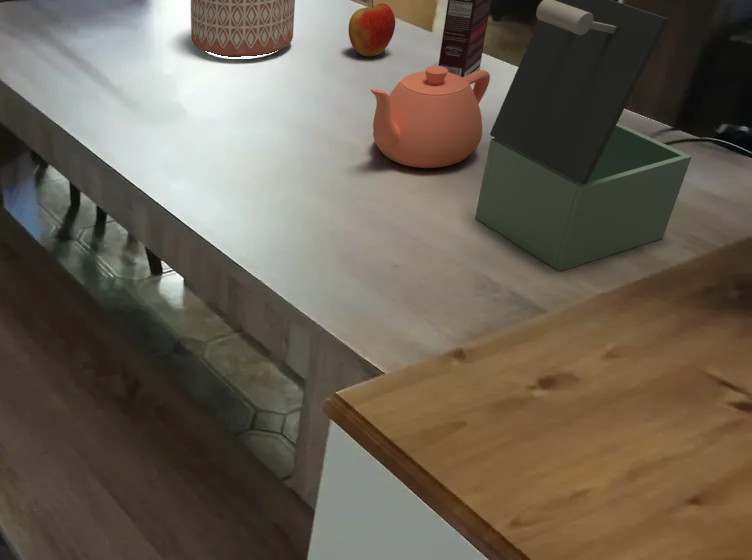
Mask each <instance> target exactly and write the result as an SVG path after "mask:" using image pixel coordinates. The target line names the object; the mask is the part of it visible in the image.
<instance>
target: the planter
mask: <svg viewBox="0 0 752 560" xmlns="http://www.w3.org/2000/svg"><path fill="white" fill-rule="evenodd" d="M295 5H296V0H190V33H191V34H190V36H191V37H190V41H191V43H192V44H193V46H195V47H196V48H198V50H202V51H203V50H204V51H207V52H211V53H214V54H217V55H221V56H228V57H241V56H257V55H263V54H269V53H272V52H275V51H277V50H279V49H280V50H281V49H283V48H285V47H287V46H288V45H290V44H291V42H293V39H294V25H295V8H296V7H295ZM280 50H279V51H280ZM204 51H203V52H204Z"/></svg>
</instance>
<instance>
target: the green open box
mask: <svg viewBox="0 0 752 560" xmlns="http://www.w3.org/2000/svg"><path fill="white" fill-rule="evenodd" d="M691 160H692V155H690V154H688V153H685V152H684V151H681V150H679V149H676V148H675V147H672V146H670V145H668V144H665V143H663V142H661V141H659V140H658V139H657V140H656V139H654V138H652V137H650V136H648V135H646V134H644V133H641V132H639V131H637V130H635V129H633V128H630V127H628V126H625V125H623V124H621V123H619V122H617V124H616V126H615V128H614V130H613V132H612V134H611V136H610V138H609V140H608V142H607V144H606V146H605V148H604V150H603V152H602V154H601V156H600V158H599V160H598V162H597V164H596V166H595V168H594V170H593V172H592V174H591V176H590V178H589V180H588V182H587V184H581V183H579V182H577V181H575V180H573V179H571V178H569V177H568V176H566V175H564V174H562V173H560V172H558V171H556V170H554V169H553V168H551V167H549V166H547V165H545V164H543V163H541V162H539V161H537V160H536V159H534V158H532V157H530V156H528V155H526V154H524V153H522V152H521V151H519V150H517V149H515V148H513V147H511V146H509V145H507V144H505V143H504V142H502V141H500V140H498V139H496V138H494V137H492V138H491V139H490V142H489V147H488V152H487V157H486V162H485V166H484V171H483V176H482V181H481V186H480V191H479V195H478V201H477V205H476V210H475V215H474V219H476V220H478V222H481V223H483V225H485V226H487V227H489V228H490V229H492V230H494V231H495V232H497V233H498V234H500V235H501V236H503V237H504V238H506V239H508V240H509V241H511V242H512V243H514V244H515V245H517V246H518V247H520V248H522V249H523V250H525V251H526V252H528V253H530V254H531V255H533V256H534V257H536V258H538V259H539V260H541V261H542V262H543V263H545V264H547V265H549V266H550V267H552V268H554V269H555V270H556V271H557V272H561V271H562V272H563V271H566V270H568V269H572V268H575V267H577V266H581V265H584V264H587V263H590V262H594V261H597V260H600V259H602V258H606V257H609V256H612V255H615V254H618V253H621V252H625V251H627V250H630V249H634V248H637V247H641V246H643V245H647V244H650V243H652V242H655V241H658V240H662V239H664V235H665V233H666V230H667V227H668V225H669V221H670V219H671V216H672V213H673V210H674V207H675V205H676V201H677V199H678V196H679V193H680V190H681V188H682V185H683V182H684V180H685V177H686V174H687V171H688V169H689V166H690V163H691Z"/></svg>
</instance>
